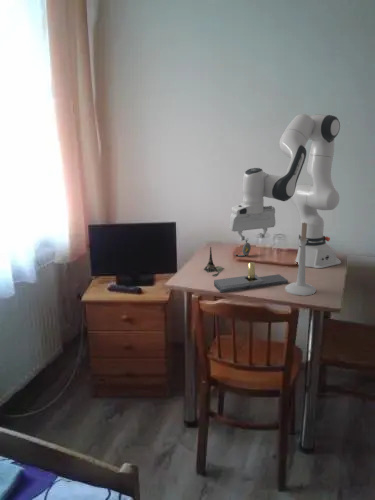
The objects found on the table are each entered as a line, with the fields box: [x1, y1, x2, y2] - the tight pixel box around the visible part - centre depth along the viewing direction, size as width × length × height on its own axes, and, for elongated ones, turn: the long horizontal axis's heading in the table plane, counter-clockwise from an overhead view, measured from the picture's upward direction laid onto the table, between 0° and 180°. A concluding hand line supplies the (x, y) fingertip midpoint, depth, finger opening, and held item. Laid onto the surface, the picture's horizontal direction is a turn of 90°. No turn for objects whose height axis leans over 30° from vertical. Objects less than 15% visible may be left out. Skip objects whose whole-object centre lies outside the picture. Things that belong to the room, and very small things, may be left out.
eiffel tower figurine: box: [203, 246, 225, 277], centre depth 216 cm, size 15×10×13 cm
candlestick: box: [284, 222, 317, 297], centre depth 188 cm, size 13×13×30 cm
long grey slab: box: [213, 274, 288, 293], centre depth 199 cm, size 32×8×3 cm, turn 107°
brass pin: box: [247, 261, 256, 281], centre depth 198 cm, size 3×3×10 cm
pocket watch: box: [234, 238, 252, 257], centre depth 237 cm, size 8×8×10 cm
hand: (252, 239), depth 193 cm, fingers open, 8 cm apart
